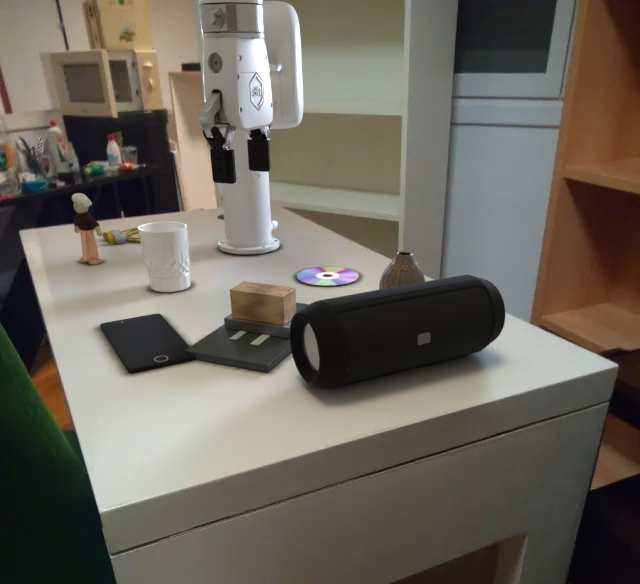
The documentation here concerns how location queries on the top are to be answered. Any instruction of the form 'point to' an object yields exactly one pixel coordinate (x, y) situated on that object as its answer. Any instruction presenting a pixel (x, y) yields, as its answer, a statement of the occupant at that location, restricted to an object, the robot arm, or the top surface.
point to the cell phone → (146, 343)
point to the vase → (401, 271)
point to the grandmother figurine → (86, 229)
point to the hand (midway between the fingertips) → (243, 176)
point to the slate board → (242, 348)
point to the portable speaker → (394, 329)
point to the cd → (317, 278)
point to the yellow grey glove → (120, 236)
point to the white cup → (166, 255)
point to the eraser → (262, 309)
